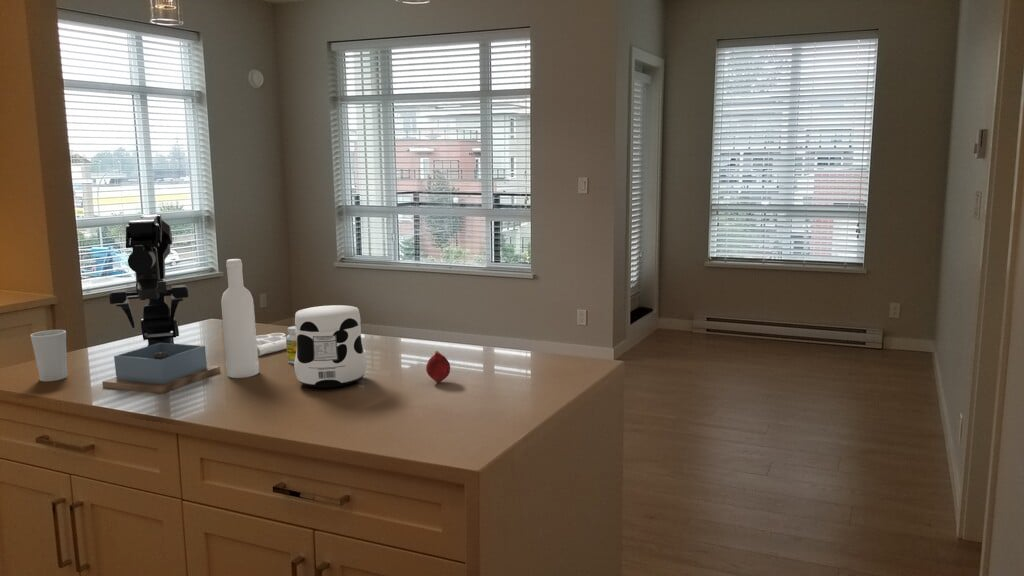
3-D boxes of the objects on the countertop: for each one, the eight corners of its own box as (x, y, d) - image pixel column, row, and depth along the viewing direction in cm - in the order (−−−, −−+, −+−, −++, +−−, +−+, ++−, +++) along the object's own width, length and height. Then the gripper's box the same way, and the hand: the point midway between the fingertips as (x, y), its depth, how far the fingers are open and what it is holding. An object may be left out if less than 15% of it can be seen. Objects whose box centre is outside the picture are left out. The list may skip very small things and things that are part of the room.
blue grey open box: (156, 363, 212) (153, 342, 211) (207, 368, 206) (204, 345, 205) (109, 378, 198) (107, 355, 197) (163, 384, 192) (160, 360, 191)
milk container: (342, 369, 207) (338, 301, 204) (381, 381, 195) (377, 309, 192) (282, 383, 195) (277, 312, 192) (319, 397, 183) (314, 321, 180)
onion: (454, 380, 194) (453, 348, 193) (444, 386, 189) (443, 354, 187) (433, 378, 196) (431, 347, 195) (422, 385, 190) (421, 352, 189)
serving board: (164, 366, 214) (163, 361, 214) (220, 371, 207) (219, 366, 207) (102, 387, 196) (102, 381, 196) (162, 393, 189) (161, 387, 189)
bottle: (221, 374, 205) (211, 260, 200) (249, 368, 210) (240, 256, 205) (237, 380, 199) (226, 262, 194) (265, 373, 205) (256, 259, 200)
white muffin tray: (251, 360, 220) (220, 354, 229) (303, 347, 235) (272, 341, 243) (250, 348, 220) (219, 342, 228) (302, 336, 234) (271, 331, 243)
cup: (55, 382, 201) (49, 336, 199) (28, 381, 203) (22, 336, 201) (78, 374, 209) (73, 330, 207) (52, 373, 210) (46, 329, 209)
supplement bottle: (311, 359, 218) (309, 325, 216) (301, 364, 213) (298, 329, 211) (294, 358, 220) (292, 324, 218) (283, 363, 215) (281, 329, 213)
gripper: (105, 274, 196) (112, 336, 198) (186, 268, 203) (191, 327, 206) (107, 269, 206) (114, 327, 208) (184, 263, 213) (190, 320, 216)
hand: (152, 326), depth 209 cm, fingers open, 9 cm apart
